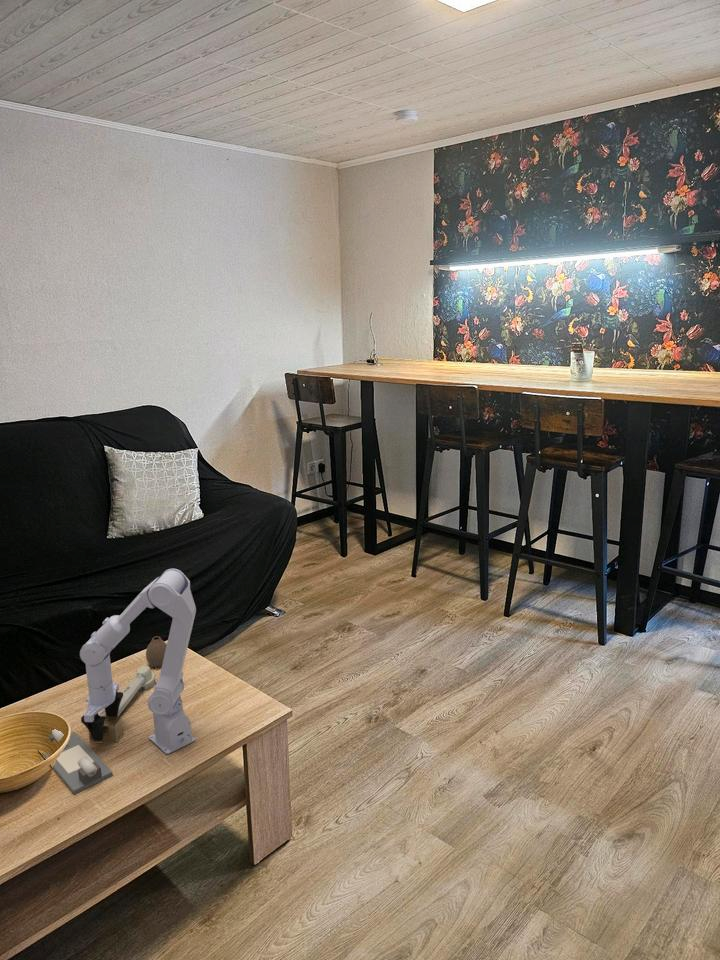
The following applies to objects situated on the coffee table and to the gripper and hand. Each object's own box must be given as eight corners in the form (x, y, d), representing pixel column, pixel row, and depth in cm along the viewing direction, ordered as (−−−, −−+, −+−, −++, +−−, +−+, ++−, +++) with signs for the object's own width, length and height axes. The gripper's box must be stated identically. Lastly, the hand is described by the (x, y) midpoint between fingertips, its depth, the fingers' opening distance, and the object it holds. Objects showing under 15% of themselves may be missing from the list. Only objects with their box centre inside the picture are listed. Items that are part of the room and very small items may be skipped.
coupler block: (123, 734, 172) (121, 716, 171) (116, 744, 168) (114, 726, 167) (97, 733, 173) (95, 715, 171) (89, 742, 169) (87, 725, 167)
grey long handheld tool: (90, 718, 173) (139, 658, 195) (95, 739, 175) (143, 677, 198) (108, 721, 172) (156, 660, 194) (113, 741, 174) (159, 679, 197)
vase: (144, 662, 207) (142, 636, 205) (167, 656, 210) (165, 630, 208) (149, 672, 201) (147, 645, 199) (173, 666, 204) (170, 640, 202)
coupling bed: (112, 775, 156) (110, 757, 155) (74, 794, 150) (71, 776, 149) (74, 734, 172) (72, 718, 171) (38, 750, 166) (35, 734, 165)
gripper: (98, 666, 174) (103, 712, 178) (69, 697, 160) (75, 747, 164) (124, 667, 174) (129, 714, 177) (98, 699, 160) (103, 749, 163)
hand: (105, 730), depth 170 cm, fingers open, 7 cm apart
